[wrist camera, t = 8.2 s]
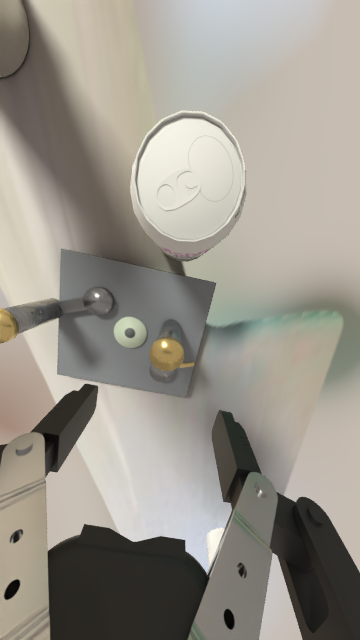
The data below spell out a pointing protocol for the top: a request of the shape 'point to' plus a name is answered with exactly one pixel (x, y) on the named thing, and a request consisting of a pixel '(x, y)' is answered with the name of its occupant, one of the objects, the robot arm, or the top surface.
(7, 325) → the crank
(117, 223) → the top surface
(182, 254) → the supplement can
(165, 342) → the crank
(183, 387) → the board
